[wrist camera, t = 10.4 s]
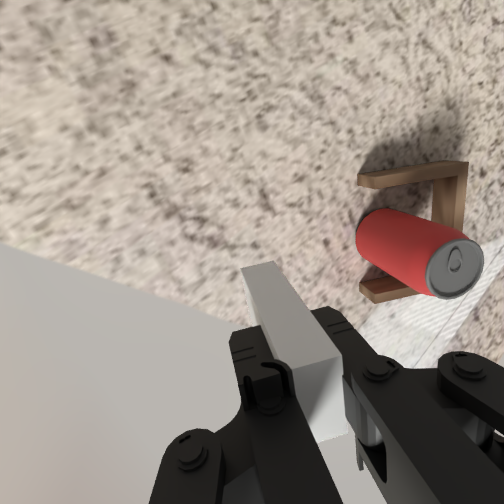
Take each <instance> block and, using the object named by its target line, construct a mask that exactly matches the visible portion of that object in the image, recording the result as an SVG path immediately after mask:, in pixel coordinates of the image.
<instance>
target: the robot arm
mask: <svg viewBox="0 0 504 504" xmlns="http://www.w3.org/2000/svg"><path fill="white" fill-rule="evenodd" d="M240 270H241V276H242V281H243V286H244V291H245V296H246V301H247V306H248V311H249V316H250V321H251V324H252V327H250V328H246V329H242V330H238V331H234V332H232V335H231V337H230V340H229V346H230V351H231V355H232V359H233V364H234V368H235V373H236V377H237V381H238V387H239V391H240V396H241V406H240V409H239V411H238V413H237V415H236V416H235V417H234V418H233V420H232V421H231V422H230V423H228V424H227V425H226V426H224V427H223V428H221V429H220V430H218V431H217V432H215V433H213V432H211V431H209V430H208V429H198V428H197V429H193V430H189V431H186V432H184V433H183V434H181V435H179V436H178V437H176V438H175V439H174V440H173V441H172V443H171V444H170V445H169V446H168V447H167V449H166V451H165V453H164V455H163V457H162V461H161V464H160V467H159V471H158V474H157V477H156V480H155V484H154V487H153V491H152V494H151V497H150V501H149V504H343V502H342V500H341V497H340V495H339V493H338V490H337V488H336V486H335V484H334V481H333V479H332V477H331V474H330V472H329V470H328V468H327V466H326V463H325V461H324V459H323V456H322V454H321V452H320V450H319V447H318V445H317V443H318V442H322V441H325V440H328V439H331V438H334V437H337V436H340V435H344V434H347V433H348V426H347V420H348V422H349V423H350V425H351V426H352V428H353V430H354V432H355V438H356V454H357V463H358V467H359V470H360V471H361V470H363V461H364V462H365V464H366V466H367V468H368V470H369V471H370V473H371V475H372V477H373V479H374V480H375V482H376V484H377V486H378V488H379V489H380V491H381V493H382V495H383V497H384V498H385V500H386V502H387V504H504V437H502V436H500V435H498V434H497V433H495V432H494V430H495V429H496V430H497V431H499V432H500V433H501V434H503V435H504V368H503V367H502V366H500V365H498V364H496V363H494V362H492V361H491V360H489V359H487V358H485V357H482V356H480V355H477V354H475V353H469V352H464V351H457V352H449V353H446V354H443V355H442V356H441V357H440V358H439V359H438V367H437V368H425V369H410V368H404V367H403V366H402V365H401V364H399V363H398V362H397V361H395V360H394V359H392V358H389V357H386V356H383V355H378V354H377V353H376V352H375V351H374V350H373V349H372V347H371V346H370V345H369V344H368V343H367V342H366V341H365V339H364V338H363V337H362V336H361V335H360V334H359V333H358V332H357V330H356V329H354V327H353V326H352V325H351V324H350V323H349V322H348V320H347V319H346V318H345V317H344V316H343V315H342V314H341V312H339V311H337V310H335V309H333V308H331V307H329V306H326V307H322V308H319V309H315V310H311V311H310V310H309V309H308V307H307V306H306V305H305V303H304V302H303V301H302V299H301V298H300V296H299V295H298V294H297V292H296V291H295V289H294V288H293V287H292V285H291V284H290V283H289V281H288V280H287V278H286V277H285V276H284V274H283V273H282V271H281V270H280V269H279V267H278V266H277V264H276V263H275V262H274V261H270V262H266V263H262V264H258V265H253V266H249V267H245V268H241V269H240Z"/></svg>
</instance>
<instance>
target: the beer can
mask: <svg viewBox="0 0 504 504" xmlns="http://www.w3.org/2000/svg"><path fill="white" fill-rule="evenodd" d="M356 246H357V250H358V252H359V253H360V255H361V256H362V257H363V258H365V259H366V260H368V261H369V262H371V263H372V264H374V265H376V266H377V267H379V268H380V269H382V270H384V271H385V272H387V273H388V274H390V275H392V276H393V277H395V278H396V279H398V280H399V281H401V282H403V283H404V284H406V285H407V286H409V287H411V288H412V289H414V290H415V291H417V292H419V293H421V294H425V295H430V296H436V297H438V298H440V299H446V300H448V299H455V298H457V297H459V296H462V295H464V294H465V293H466V292H468V291H469V290H470V289H471V288H473V286H474V285H475V284H476V282H477V281H478V280H479V278H480V276H481V273H482V271H483V266H484V255H483V251H482V249H481V248H480V246H479V245H478V244H477V243H476V242H474V241H473V240H470V239H469V238H468V237H467V236H466V235H464V234H463V233H462V232H460V231H459V230H457V229H455V228H452V227H449V226H445V225H442V224H439V223H436V222H432V221H429V220H426V219H423V218H419V217H416V216H413V215H410V214H406V213H403V212H400V211H397V210H393V209H389V208H384V209H378V210H376V211H374V212H371V213H370V214H369V215H368V216H366V217H365V218H364V219H363V221H362V222H361V223H360V225H359V227H358V230H357V233H356Z"/></svg>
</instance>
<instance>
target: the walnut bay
mask: <svg viewBox="0 0 504 504" xmlns="http://www.w3.org/2000/svg"><path fill="white" fill-rule="evenodd" d="M468 166H469V162H460V161H438V162H431V163H425V164H419V165H413V166H406V167H400V168H394V169H388V170H381V171H375V172H369V173H362V174H357V178H358V185H359V186H363V187H367V188H372V189H379V188H385V187H391V186H397V185H403V184H409V183H415V182H421V181H427V180H433V179H434V185H433V202H432V219H431V221H432V222H436V223H439V224H442V225H445V226H449V227H452V228H455V229H457V230H459V231H460V232H462V230H463V220H464V209H465V198H466V187H467V177H468ZM359 291H360V292H361V293H362V294H363V295H365V296H366V297H367V298H368V299H369V300H371V301H372V302H373V303H374V304H377V303H381V302H386V301H390V300H395V299H399V298H403V297H408V296H412V295H417V294H421V293H419V292H417V291H415V290H414V289H412V288H411V287H409V286H407V285H406V284H404V283H403V282H401V281H399V280H398V279H396V278H395V277H393V276H388V277H383V278H378V279H374V280H369V281H364V282H360V283H359Z"/></svg>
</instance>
